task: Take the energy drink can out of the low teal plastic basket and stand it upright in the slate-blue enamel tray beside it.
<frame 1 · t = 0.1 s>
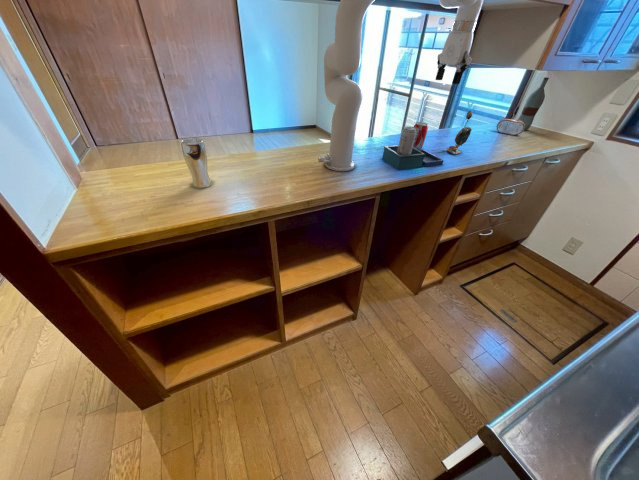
hand: (446, 81, 107), 31 cm above the worktop, tool pointing down, fingers open, 9 cm apart
tin: (506, 134, 167), on the worktop
soda can: (414, 148, 135), on the worktop
energy drink can: (401, 163, 119), resting in basket
beer glass: (202, 184, 93), on the worktop
tray: (423, 159, 123), on the worktop
bottle: (520, 129, 179), on the worktop
basket: (401, 162, 119), on the worktop
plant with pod: (454, 152, 135), on the worktop
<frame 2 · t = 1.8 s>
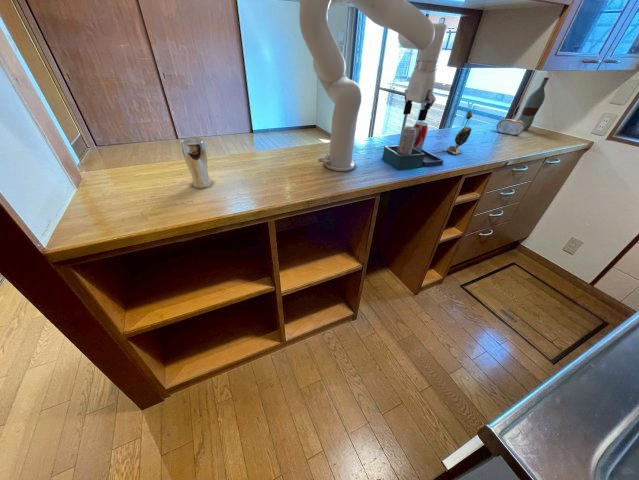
hand: (413, 117, 107), 19 cm above the worktop, tool pointing down, fingers open, 9 cm apart
nothing on the worktop moved.
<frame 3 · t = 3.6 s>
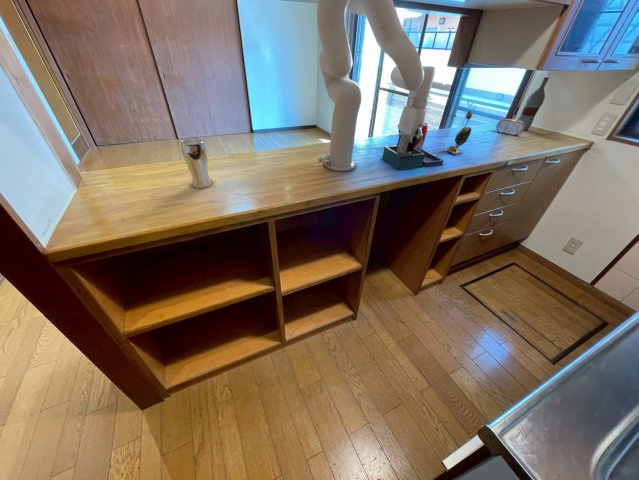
hand: (405, 148, 114), 7 cm above the worktop, tool pointing down, fingers closed on energy drink can, 6 cm apart
energy drink can: (401, 163, 119), resting in basket, touching gripper
everything else where it was.
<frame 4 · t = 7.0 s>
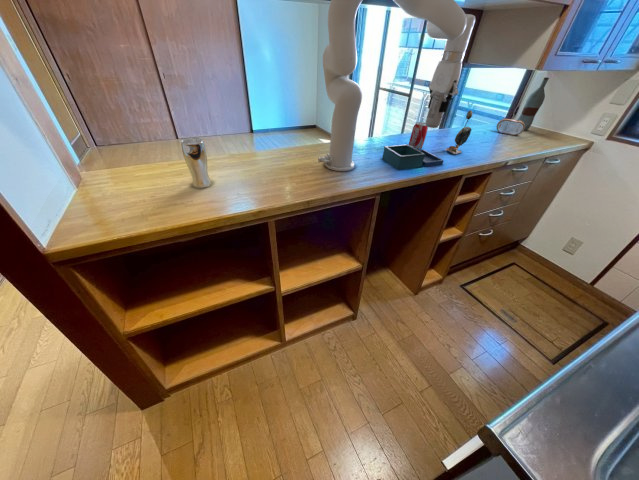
hand: (436, 109, 109), 22 cm above the worktop, tool pointing down, fingers closed on energy drink can, 6 cm apart
energy drink can: (431, 126, 113), point 15 cm above the worktop, touching gripper
everything else where it was.
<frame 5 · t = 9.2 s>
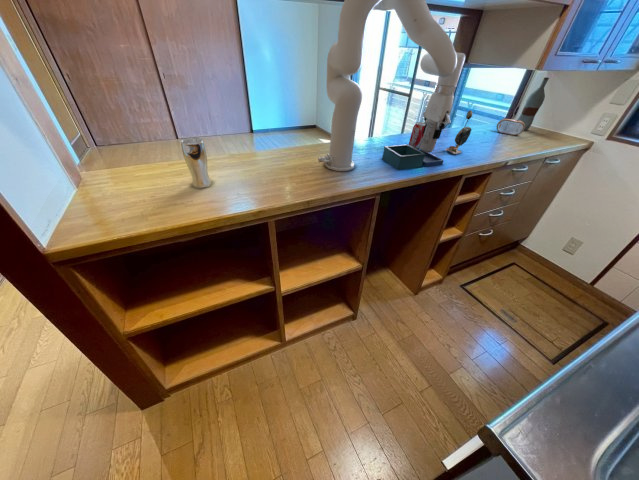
hand: (430, 135, 116), 11 cm above the worktop, tool pointing down, fingers closed on energy drink can, 6 cm apart
energy drink can: (426, 151, 120), point 4 cm above the worktop, touching gripper
everything else where it was.
when the fingers open (7 cm above the worktop, at t = 10.7 s): energy drink can stays where it is, resting on tray.
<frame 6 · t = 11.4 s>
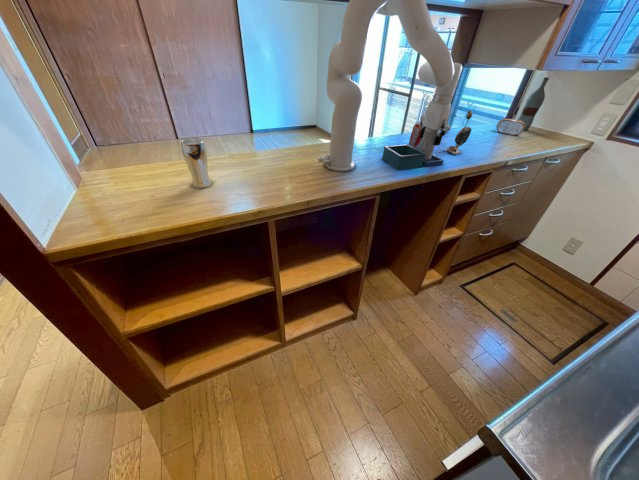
hand: (428, 141, 118), 8 cm above the worktop, tool pointing down, fingers open, 9 cm apart
energy drink can: (423, 159, 123), resting on tray
everything else where it was.
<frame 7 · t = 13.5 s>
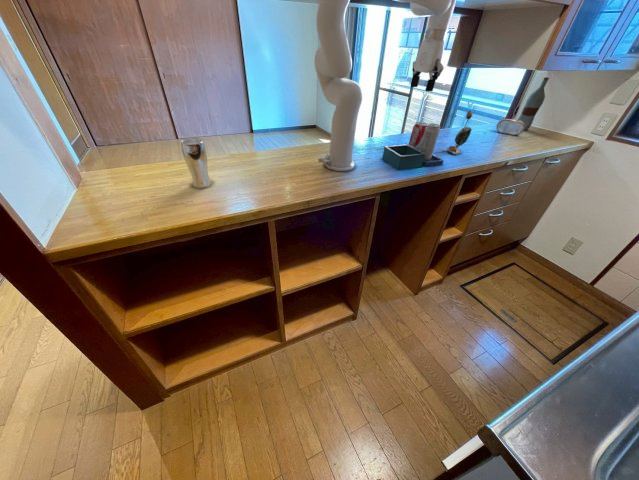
hand: (421, 88, 108), 28 cm above the worktop, tool pointing down, fingers open, 9 cm apart
nothing on the worktop moved.
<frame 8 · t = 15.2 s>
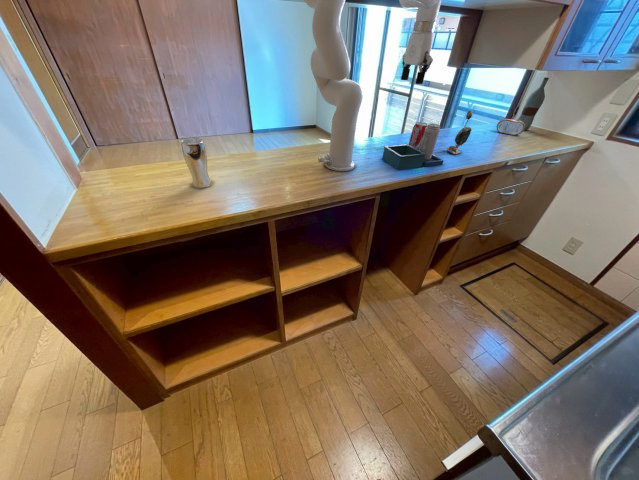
hand: (411, 81, 108), 30 cm above the worktop, tool pointing down, fingers open, 9 cm apart
nothing on the worktop moved.
at the end: energy drink can inside the target area in the tray (0.1 cm from its centre), point 0.3 cm above the tray's base; energy drink can tilted 0°; the gripper is holding nothing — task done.
